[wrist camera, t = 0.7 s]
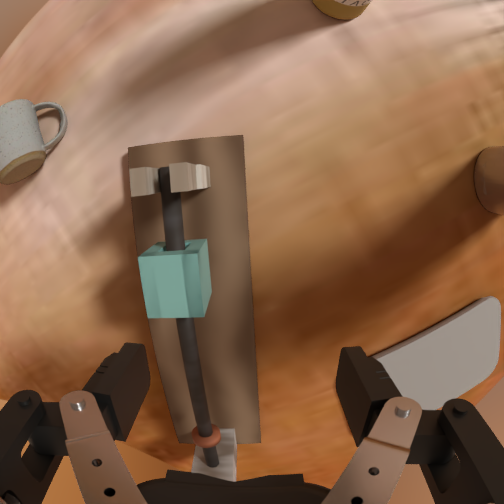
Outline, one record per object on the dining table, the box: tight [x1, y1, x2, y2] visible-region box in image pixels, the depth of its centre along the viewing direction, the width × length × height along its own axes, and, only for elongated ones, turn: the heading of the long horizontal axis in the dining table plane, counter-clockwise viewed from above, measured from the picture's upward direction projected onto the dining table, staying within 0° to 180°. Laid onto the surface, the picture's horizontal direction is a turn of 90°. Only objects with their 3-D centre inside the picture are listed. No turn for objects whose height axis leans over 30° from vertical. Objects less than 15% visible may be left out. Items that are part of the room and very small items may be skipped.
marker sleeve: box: [138, 239, 212, 318], centre depth 26 cm, size 5×5×6 cm
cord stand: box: [128, 135, 261, 482], centre depth 30 cm, size 12×40×12 cm, turn 3°
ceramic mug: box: [0, 99, 67, 184], centre depth 26 cm, size 11×8×8 cm
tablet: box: [371, 296, 501, 410], centre depth 37 cm, size 16×26×2 cm, turn 112°
